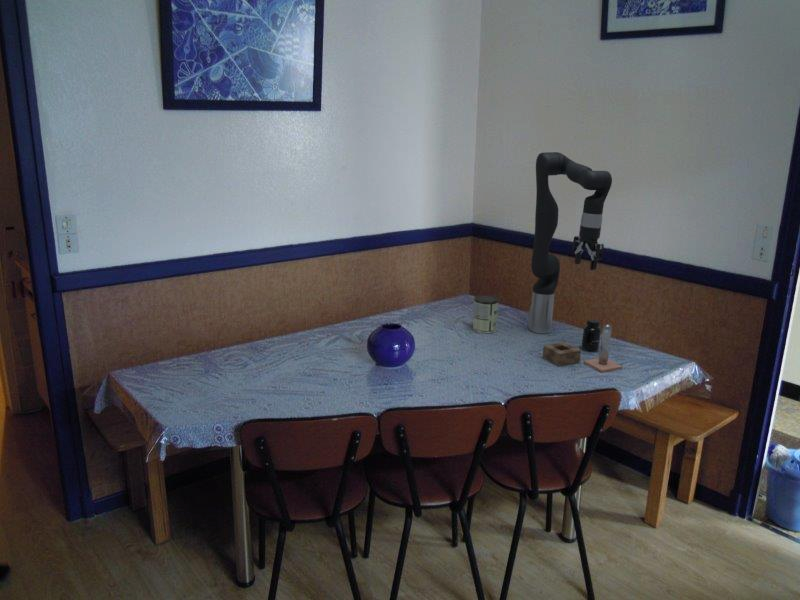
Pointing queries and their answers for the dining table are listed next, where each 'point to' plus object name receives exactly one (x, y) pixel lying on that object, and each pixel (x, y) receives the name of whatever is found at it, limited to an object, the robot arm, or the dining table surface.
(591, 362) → the terracotta mat
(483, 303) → the coffee can
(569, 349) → the walnut block
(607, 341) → the metal pin
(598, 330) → the supplement bottle
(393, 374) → the dining table surface
